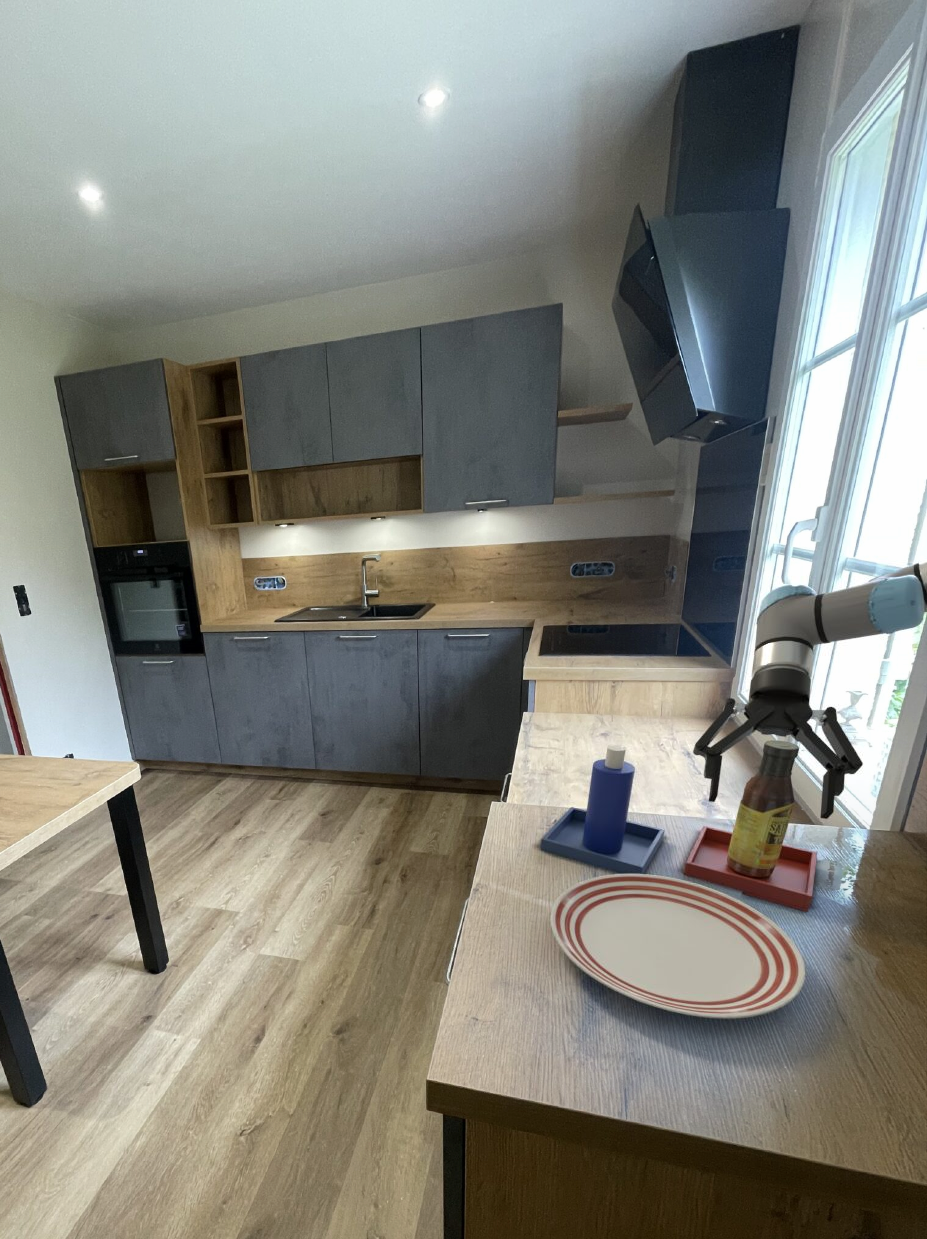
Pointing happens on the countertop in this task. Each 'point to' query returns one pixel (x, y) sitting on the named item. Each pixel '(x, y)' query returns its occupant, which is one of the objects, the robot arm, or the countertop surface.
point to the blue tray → (629, 860)
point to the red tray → (782, 887)
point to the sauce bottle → (764, 813)
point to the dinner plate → (677, 946)
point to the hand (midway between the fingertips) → (767, 806)
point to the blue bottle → (608, 802)
